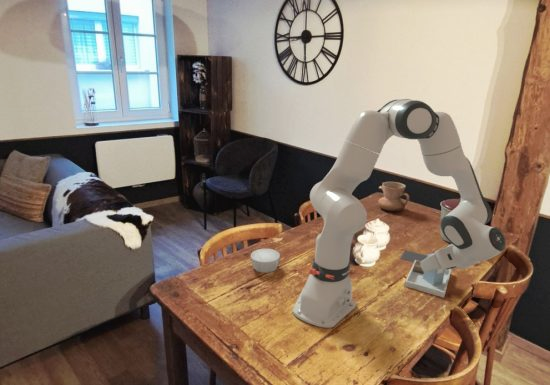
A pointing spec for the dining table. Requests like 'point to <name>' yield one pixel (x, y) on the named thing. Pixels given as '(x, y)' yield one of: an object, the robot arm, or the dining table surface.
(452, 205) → the canister
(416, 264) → the walnut block
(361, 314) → the dining table surface
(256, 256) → the ramekin
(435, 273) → the blue box
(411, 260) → the mat
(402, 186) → the ceramic jug
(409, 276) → the tray
